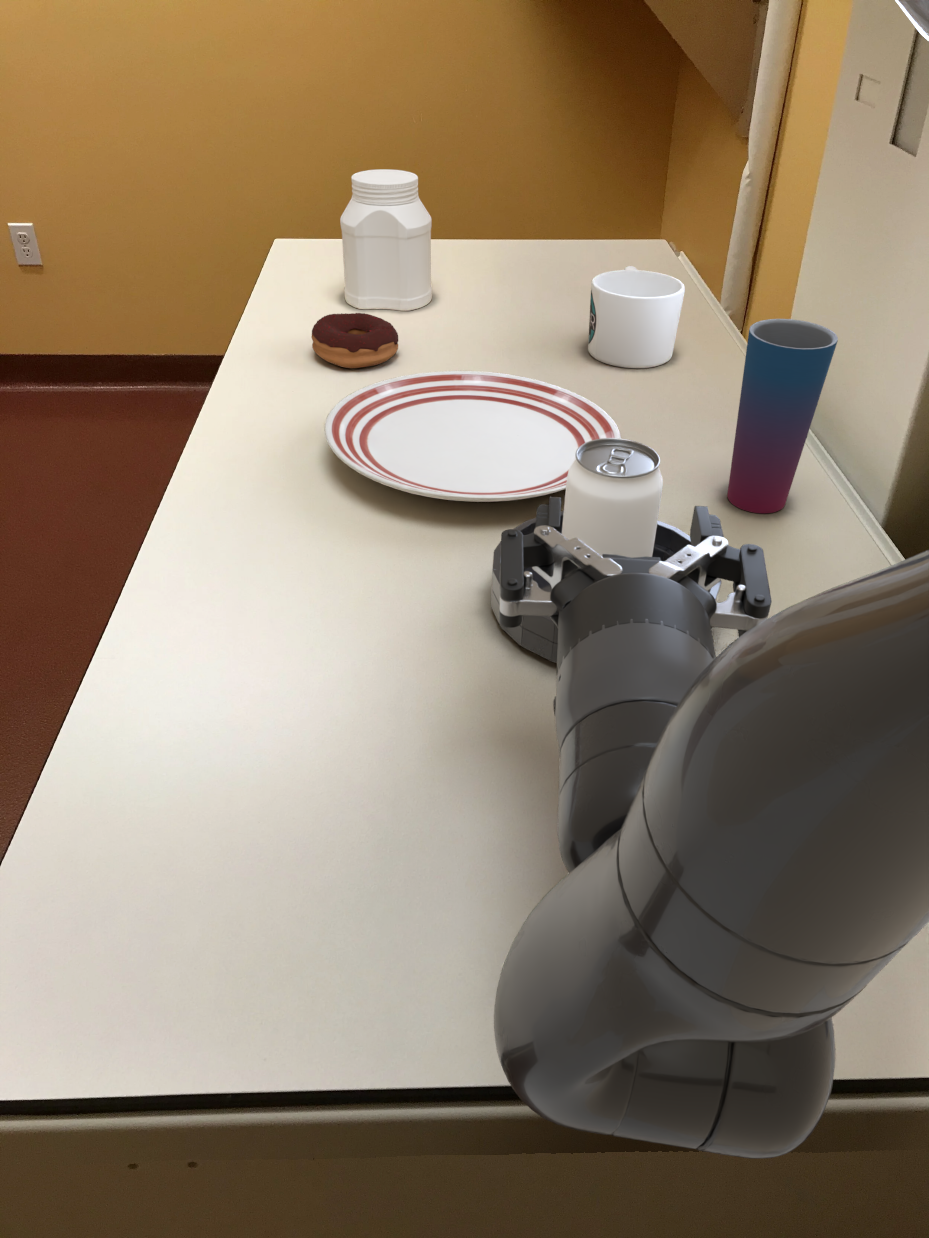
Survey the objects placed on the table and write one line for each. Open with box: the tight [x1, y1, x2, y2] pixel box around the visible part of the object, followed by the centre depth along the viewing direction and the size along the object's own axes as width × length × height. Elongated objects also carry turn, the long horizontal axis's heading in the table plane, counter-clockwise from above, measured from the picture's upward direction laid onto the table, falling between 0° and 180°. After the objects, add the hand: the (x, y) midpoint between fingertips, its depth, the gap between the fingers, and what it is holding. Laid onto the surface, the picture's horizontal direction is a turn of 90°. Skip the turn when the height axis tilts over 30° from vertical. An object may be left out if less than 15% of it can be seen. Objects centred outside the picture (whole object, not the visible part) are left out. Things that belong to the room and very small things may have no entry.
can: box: [562, 438, 664, 558], centre depth 67 cm, size 6×6×12 cm
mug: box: [587, 265, 686, 369], centre depth 111 cm, size 13×10×8 cm
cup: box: [726, 318, 839, 514], centre depth 80 cm, size 7×7×15 cm
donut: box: [311, 312, 399, 369], centre depth 109 cm, size 10×10×4 cm
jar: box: [339, 168, 433, 312], centre depth 123 cm, size 12×10×15 cm
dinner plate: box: [324, 370, 622, 503], centre depth 90 cm, size 27×27×3 cm
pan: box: [490, 510, 723, 664], centre depth 70 cm, size 16×16×4 cm
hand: (625, 514), depth 57 cm, fingers open, 8 cm apart
